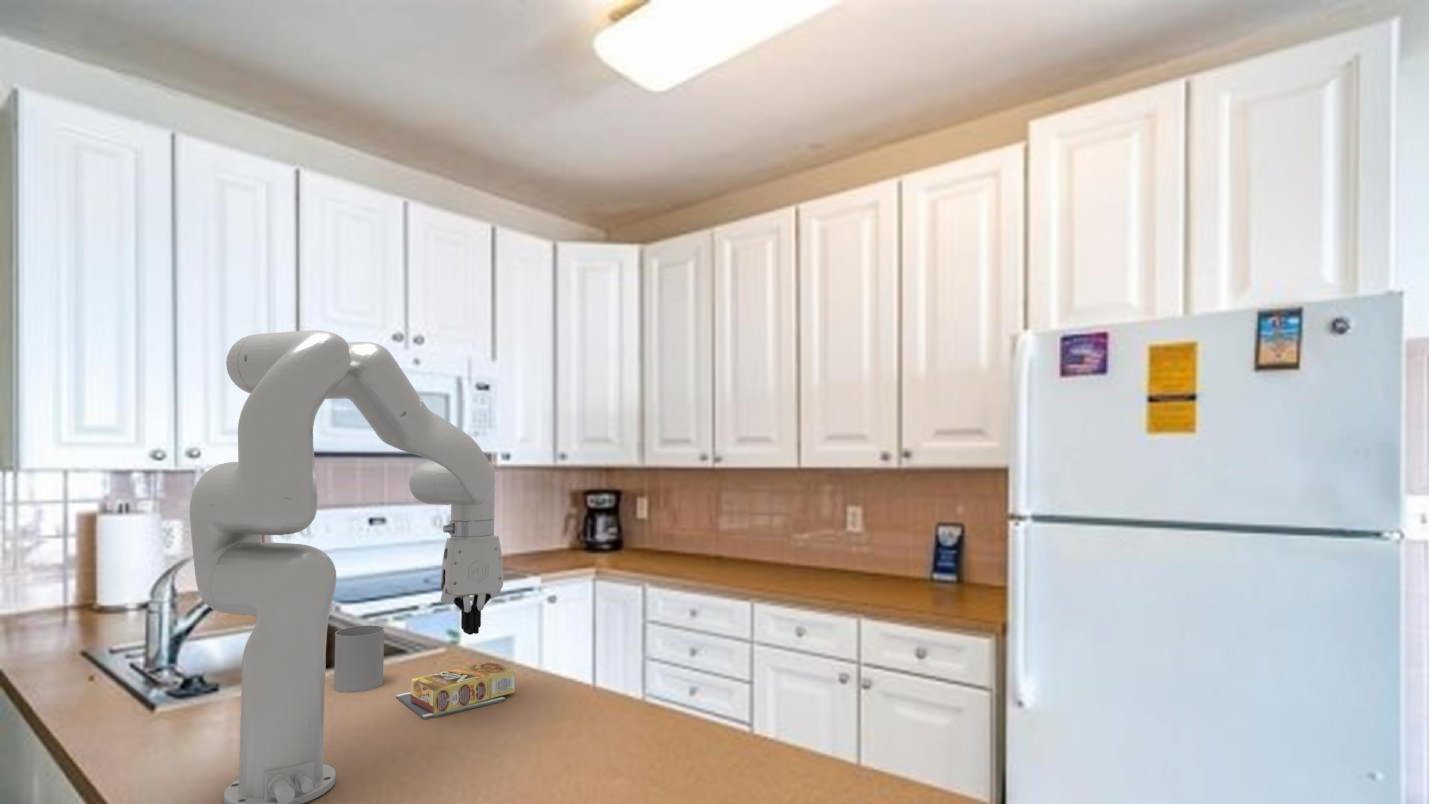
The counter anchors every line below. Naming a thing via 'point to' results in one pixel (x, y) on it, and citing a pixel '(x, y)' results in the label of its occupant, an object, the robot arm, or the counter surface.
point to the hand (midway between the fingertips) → (470, 632)
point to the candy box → (462, 686)
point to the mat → (427, 714)
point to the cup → (359, 658)
